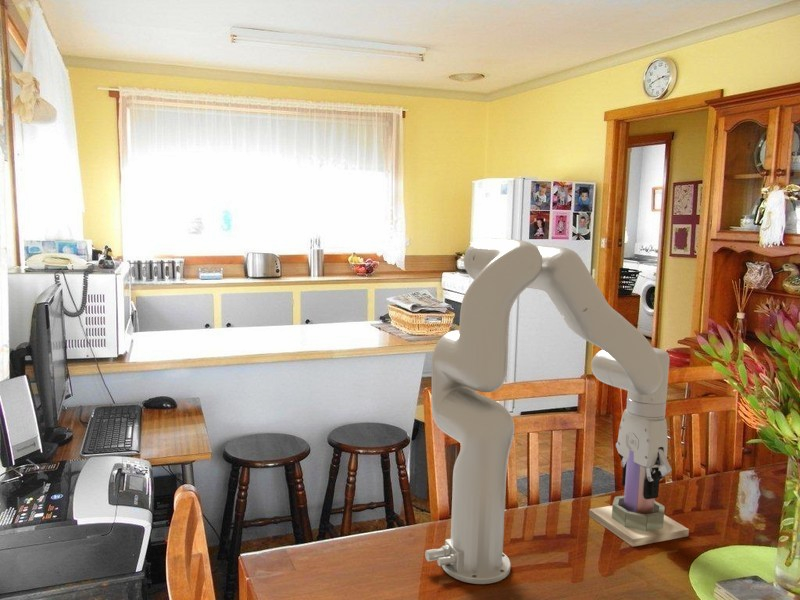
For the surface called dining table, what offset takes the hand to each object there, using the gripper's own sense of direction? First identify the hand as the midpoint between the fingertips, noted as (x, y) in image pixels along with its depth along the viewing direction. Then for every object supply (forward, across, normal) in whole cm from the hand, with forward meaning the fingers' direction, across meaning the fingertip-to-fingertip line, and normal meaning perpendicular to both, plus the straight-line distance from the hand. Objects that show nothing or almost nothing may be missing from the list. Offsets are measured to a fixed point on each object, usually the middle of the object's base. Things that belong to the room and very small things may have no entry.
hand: (639, 490), depth 137 cm
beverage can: (+5, 0, 0) cm, 5 cm away
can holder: (+8, 0, 0) cm, 8 cm away
